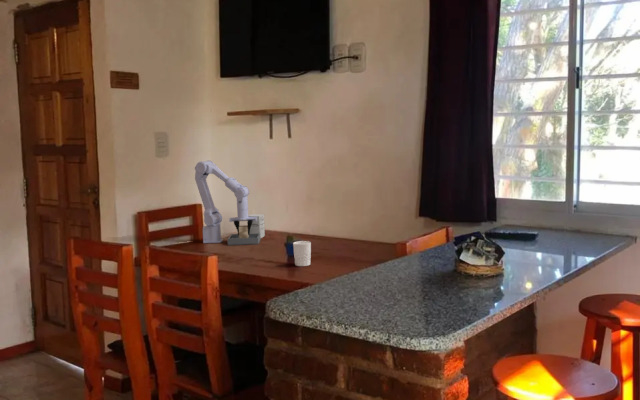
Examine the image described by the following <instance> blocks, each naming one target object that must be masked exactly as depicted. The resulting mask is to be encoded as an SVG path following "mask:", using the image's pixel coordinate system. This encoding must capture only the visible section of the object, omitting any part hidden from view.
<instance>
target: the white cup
mask: <svg viewBox="0 0 640 400" xmlns="http://www.w3.org/2000/svg"><path fill="white" fill-rule="evenodd" d="M292 246H293V255H294V265H295V266H297V267H307V266H310V265H311V257H312V255H311V253H312V242H311V241H309V240H299V241H294V242H292Z"/></svg>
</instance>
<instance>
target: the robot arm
mask: <svg viewBox="0 0 640 400" xmlns="http://www.w3.org/2000/svg"><path fill="white" fill-rule="evenodd" d="M194 170H195V174H194V180H195V184H196V186H197V190H198V192H199V196H200V198H201V201H202V205H203V207H204V211H203V217H204V218H203V222H204V224H205V225H204V226H202V242H203V244H212V243H213V244H217V243H219V244H220V243H222V242H223V240H224V239H223V238H222V235H221V233H222V232H221V223H222V221H223V216H222V214H221V213H220V212H219V209H218V208H217V207H216V206H215V204H214V199H213V197H212V194H211V190H210V188H209V185H208V182H207V178H208V176H209V175H210V174H211V175H215V176H216V177H217V178H218V179H220V181H222V182H223V183H224V186H225V187H226V188H228V190H230V191H231V192H232V193H234V197H235V198H236V208H237V209H236V210H237V216H236V217H229V218H228V219H229V221H228V222H230V223H232V222H233V224H234V226H235V229H236V231H237V234H238V235H239V226H241V225H240V222H246V223H247V225H248V235H249V234H250V228H251V225H252V222H253V221H257V217H248V216H249V200H248V199H249V197H248V196H249V194H250V190H249V188H248V187H247V186H246V185H243V184H242V183H240V182H238V180H237V179H236V178H235V177H229V176H228V175H227V174H226V173H225V172H224V171H222V170H221V169H220V168H219V167H218V166H217V164H215V162H213V161H212V160H205V161H198V162H197V163H196V165H195V167H194Z"/></svg>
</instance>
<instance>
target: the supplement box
mask: <svg viewBox="0 0 640 400" xmlns="http://www.w3.org/2000/svg"><path fill="white" fill-rule="evenodd" d="M248 217H257V221H253V222H252V225H251V228H250V234H254V233H260V235H261V239H262V238H263V237H265V235H266V234H265V232H266V231H265V229H266V228H265V214H263V213H262V214H258V213H252V214H248Z"/></svg>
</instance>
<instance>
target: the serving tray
mask: <svg viewBox="0 0 640 400" xmlns="http://www.w3.org/2000/svg"><path fill="white" fill-rule="evenodd" d="M261 239H262V238H261V235H260V233H254V234H249V237H248V238H239V235H238V233H232V234H230V235H229V236H228V237H227V246H249V245H252V246H253V245H259V244H260V242H261Z"/></svg>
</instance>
